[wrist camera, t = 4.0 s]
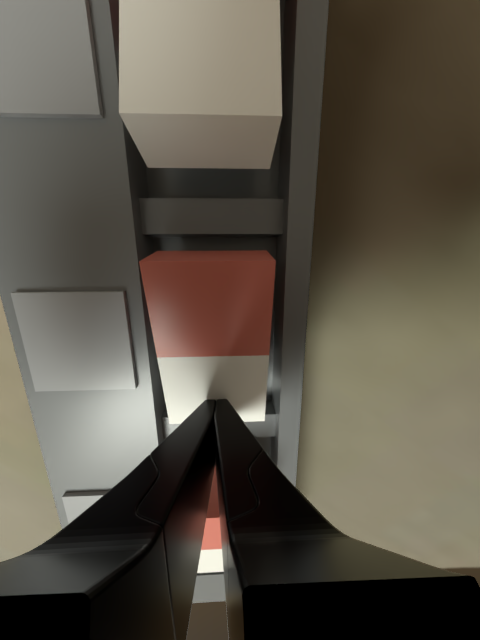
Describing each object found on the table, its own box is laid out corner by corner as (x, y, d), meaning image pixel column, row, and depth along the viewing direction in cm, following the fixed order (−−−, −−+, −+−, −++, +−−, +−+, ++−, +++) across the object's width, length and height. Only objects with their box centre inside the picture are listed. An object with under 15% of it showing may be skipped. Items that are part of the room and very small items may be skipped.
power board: (299, -59, 9) (352, -309, 5) (274, 521, 16) (288, 602, 12) (7, -73, 8) (-181, -355, 5) (117, 528, 16) (80, 615, 12)
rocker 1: (265, -24, 7) (276, -137, 6) (269, 169, 7) (282, 116, 5) (147, -29, 7) (119, -145, 5) (147, 167, 7) (118, 113, 5)
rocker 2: (266, 250, 8) (275, 260, 6) (259, 389, 11) (264, 421, 9) (157, 250, 8) (138, 261, 6) (178, 391, 11) (169, 423, 9)
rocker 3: (262, 464, 10) (268, 515, 8) (256, 524, 13) (260, 569, 12) (175, 467, 10) (165, 520, 8) (190, 527, 13) (185, 573, 12)
